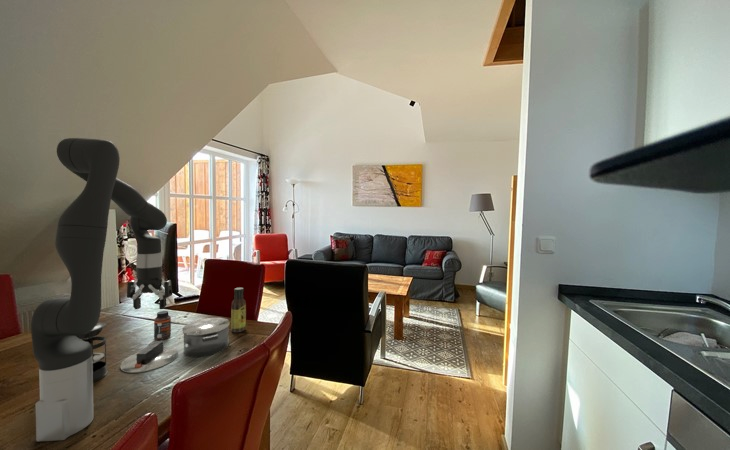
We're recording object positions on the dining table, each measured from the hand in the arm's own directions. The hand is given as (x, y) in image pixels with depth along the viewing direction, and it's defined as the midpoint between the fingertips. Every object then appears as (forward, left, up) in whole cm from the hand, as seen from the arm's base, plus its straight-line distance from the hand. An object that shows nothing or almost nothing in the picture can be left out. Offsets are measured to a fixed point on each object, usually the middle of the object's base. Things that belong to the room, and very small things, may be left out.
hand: (150, 308), depth 103 cm
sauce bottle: (+25, -23, -20) cm, 39 cm away
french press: (-11, +13, -20) cm, 26 cm away
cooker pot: (+9, -16, -19) cm, 27 cm away
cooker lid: (0, 0, -20) cm, 20 cm away
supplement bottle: (+19, +7, -20) cm, 28 cm away
